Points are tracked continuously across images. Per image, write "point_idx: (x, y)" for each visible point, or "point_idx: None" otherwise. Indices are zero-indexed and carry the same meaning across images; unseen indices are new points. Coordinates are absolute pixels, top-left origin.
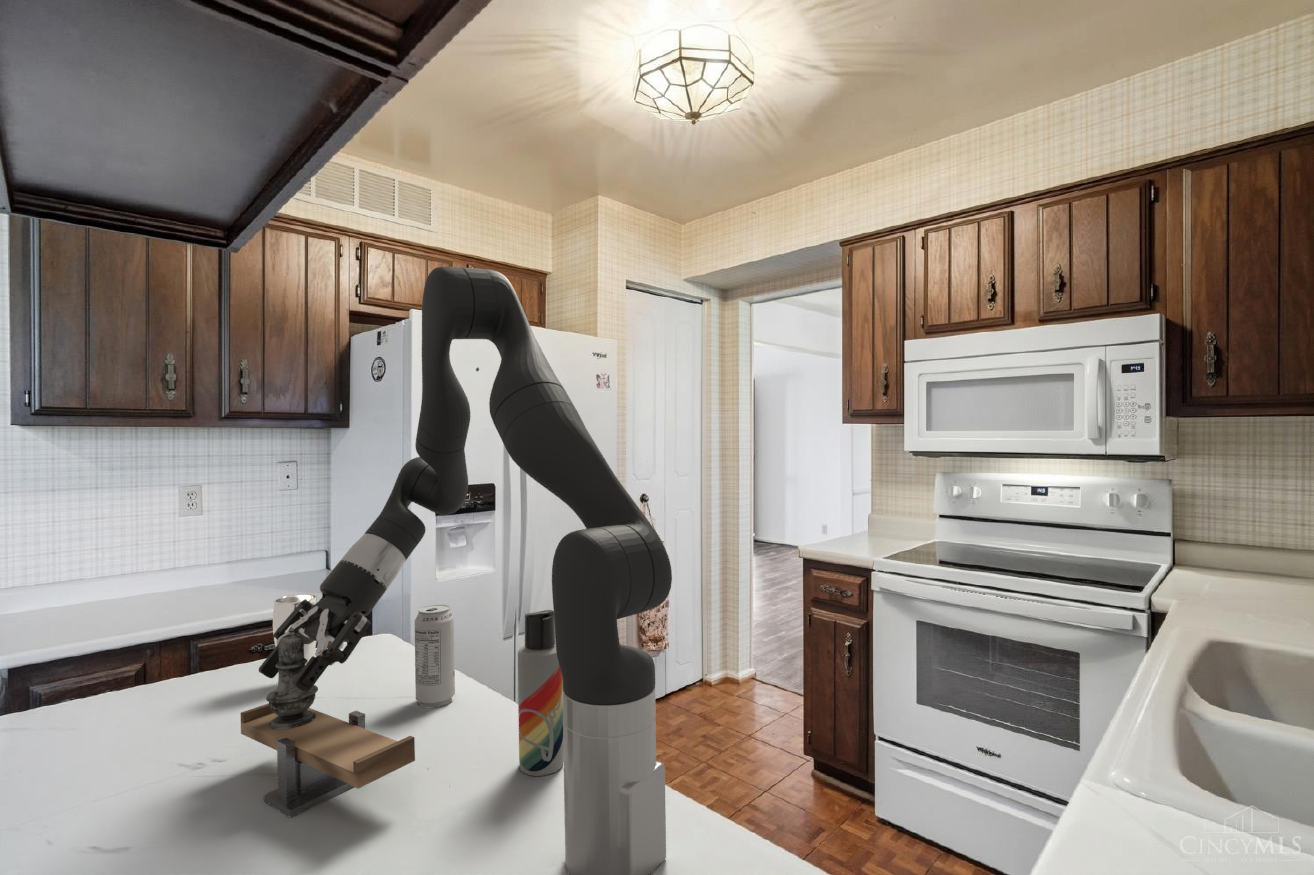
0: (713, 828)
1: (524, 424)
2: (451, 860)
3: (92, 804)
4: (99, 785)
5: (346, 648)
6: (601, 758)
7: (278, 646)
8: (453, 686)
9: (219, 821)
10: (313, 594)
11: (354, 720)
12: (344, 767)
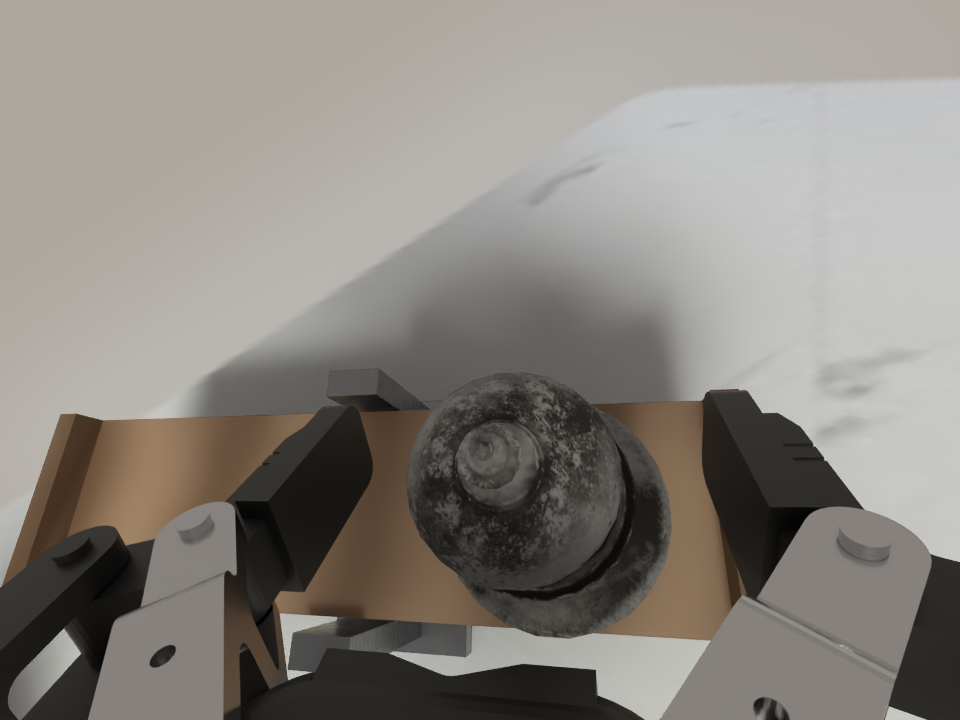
0: None
1: None
2: (31, 499)
3: (801, 182)
4: (920, 201)
5: (76, 708)
6: None
7: (783, 499)
8: None
9: (482, 321)
10: None
11: (323, 630)
12: (137, 421)
